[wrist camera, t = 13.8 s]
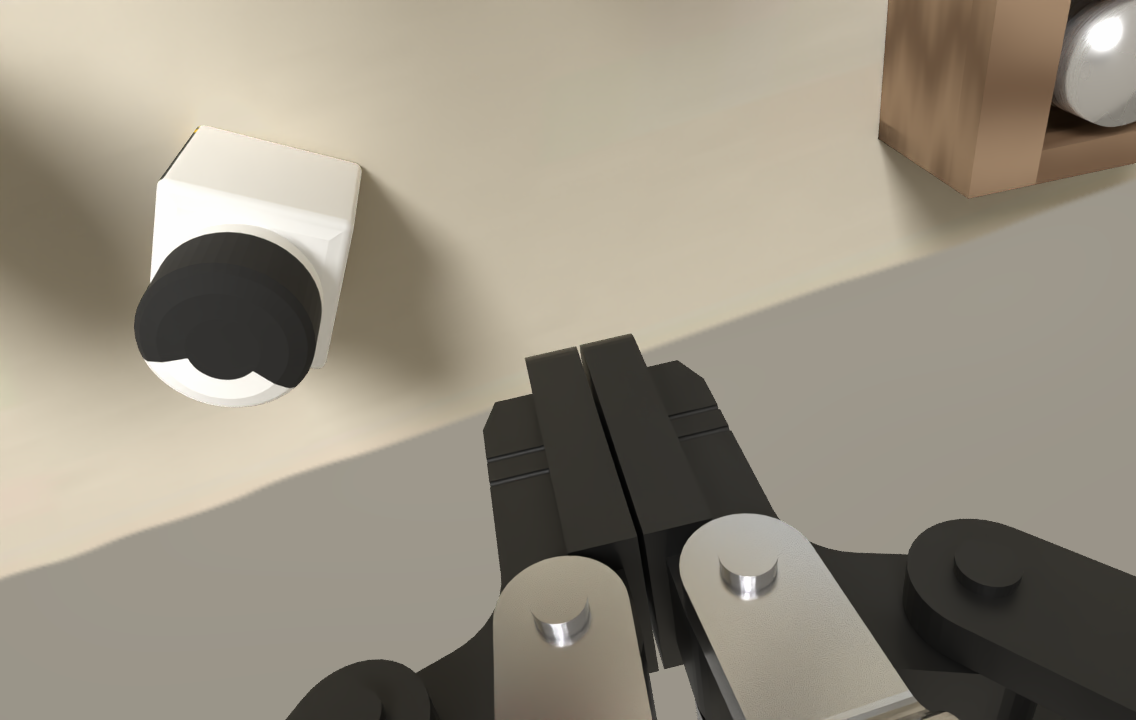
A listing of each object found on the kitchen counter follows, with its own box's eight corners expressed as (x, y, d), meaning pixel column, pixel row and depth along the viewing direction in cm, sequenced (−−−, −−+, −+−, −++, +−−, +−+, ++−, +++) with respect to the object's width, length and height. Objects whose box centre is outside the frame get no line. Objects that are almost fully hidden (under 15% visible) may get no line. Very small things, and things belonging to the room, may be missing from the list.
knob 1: (1010, -10, 34) (1092, 12, 30) (1116, -31, 34) (1212, -12, 30) (992, 102, 37) (1065, 137, 33) (1091, 82, 37) (1176, 114, 33)
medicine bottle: (198, 120, 35) (114, 235, 25) (363, 162, 37) (346, 283, 27) (184, 264, 38) (105, 414, 29) (336, 294, 41) (312, 444, 31)
